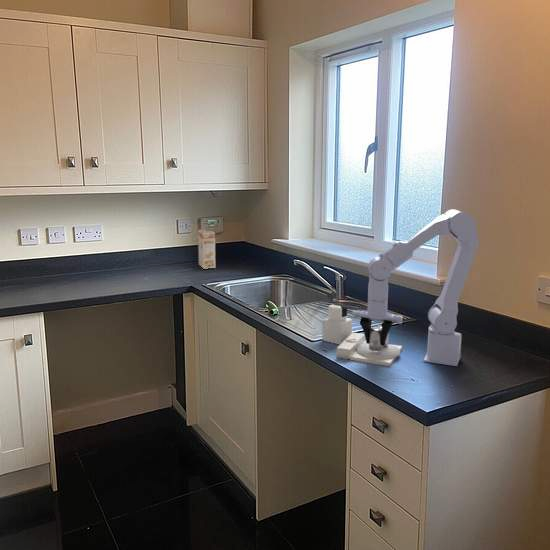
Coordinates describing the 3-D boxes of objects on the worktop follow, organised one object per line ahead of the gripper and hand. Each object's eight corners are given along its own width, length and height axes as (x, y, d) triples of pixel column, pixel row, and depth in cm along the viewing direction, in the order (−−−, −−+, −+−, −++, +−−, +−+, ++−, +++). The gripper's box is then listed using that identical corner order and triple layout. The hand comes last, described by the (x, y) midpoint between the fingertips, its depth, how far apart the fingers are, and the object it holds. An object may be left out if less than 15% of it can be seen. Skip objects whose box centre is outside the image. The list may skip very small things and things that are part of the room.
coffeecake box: (216, 269, 294) (215, 232, 290) (202, 270, 292) (201, 233, 288) (211, 264, 308) (210, 229, 304) (198, 264, 306) (197, 229, 302)
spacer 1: (384, 347, 167) (385, 328, 165) (379, 352, 163) (379, 332, 162) (372, 345, 169) (372, 326, 168) (366, 349, 166) (367, 330, 164)
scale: (405, 349, 174) (405, 338, 174) (393, 366, 160) (394, 355, 159) (352, 341, 181) (352, 331, 181) (336, 357, 167) (337, 346, 166)
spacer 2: (390, 345, 173) (391, 327, 172) (383, 348, 170) (383, 329, 169) (380, 342, 176) (380, 324, 175) (372, 345, 173) (373, 326, 172)
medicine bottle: (333, 335, 188) (334, 300, 185) (352, 339, 183) (353, 304, 181) (321, 340, 182) (322, 305, 180) (340, 345, 178) (341, 309, 175)
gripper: (405, 298, 164) (403, 342, 166) (357, 293, 169) (355, 336, 172) (400, 304, 157) (398, 350, 160) (350, 298, 163) (349, 343, 166)
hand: (375, 343), depth 166 cm, fingers closed on spacer 1, 4 cm apart
